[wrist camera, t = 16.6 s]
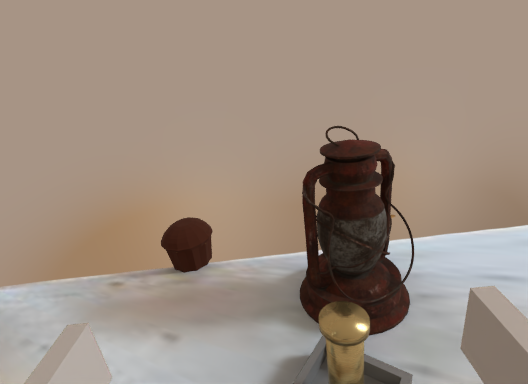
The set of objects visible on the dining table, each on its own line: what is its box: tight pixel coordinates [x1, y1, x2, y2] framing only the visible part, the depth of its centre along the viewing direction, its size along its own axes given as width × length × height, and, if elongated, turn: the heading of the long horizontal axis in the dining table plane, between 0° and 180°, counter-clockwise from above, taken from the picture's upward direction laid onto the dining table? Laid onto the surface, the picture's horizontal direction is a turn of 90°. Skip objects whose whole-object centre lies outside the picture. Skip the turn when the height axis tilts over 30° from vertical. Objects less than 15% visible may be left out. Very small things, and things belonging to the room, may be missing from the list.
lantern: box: [300, 126, 414, 335], centre depth 52 cm, size 19×19×30 cm
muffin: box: [161, 218, 212, 272], centre depth 72 cm, size 12×11×10 cm
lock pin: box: [319, 301, 370, 384], centre depth 36 cm, size 5×5×14 cm
